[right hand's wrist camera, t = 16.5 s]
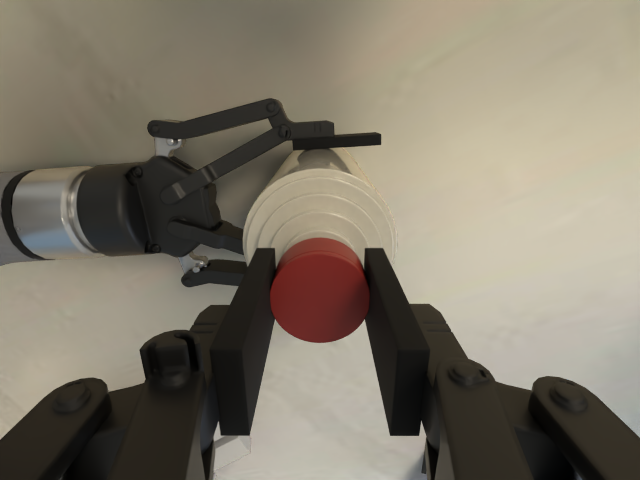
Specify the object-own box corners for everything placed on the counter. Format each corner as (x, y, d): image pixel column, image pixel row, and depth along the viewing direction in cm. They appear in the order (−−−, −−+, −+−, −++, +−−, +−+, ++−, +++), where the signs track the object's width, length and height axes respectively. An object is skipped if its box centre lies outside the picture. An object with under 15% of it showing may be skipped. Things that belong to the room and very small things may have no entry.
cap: (264, 247, 14) (256, 266, 12) (355, 228, 14) (360, 244, 12) (288, 324, 15) (284, 351, 14) (371, 308, 15) (378, 333, 13)
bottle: (272, 148, 33) (187, 209, 12) (355, 134, 33) (420, 174, 12) (287, 227, 36) (240, 390, 15) (364, 215, 36) (430, 367, 14)
